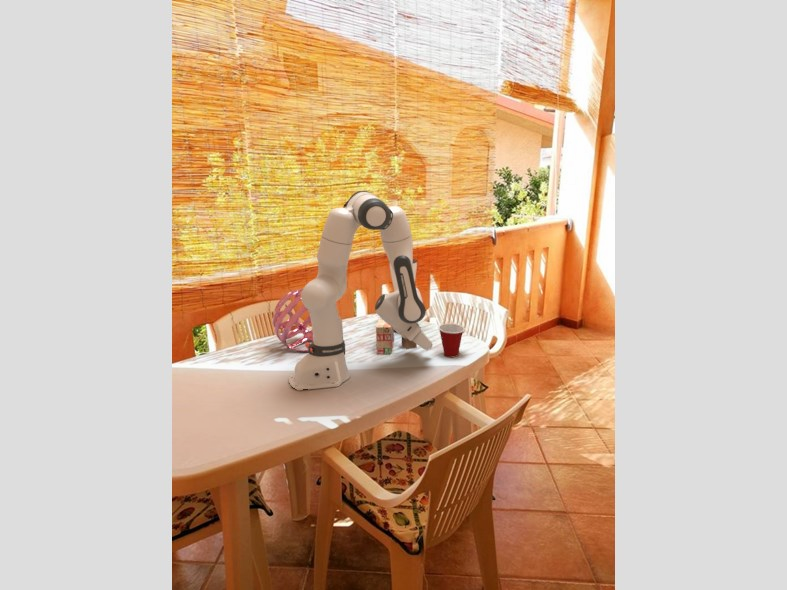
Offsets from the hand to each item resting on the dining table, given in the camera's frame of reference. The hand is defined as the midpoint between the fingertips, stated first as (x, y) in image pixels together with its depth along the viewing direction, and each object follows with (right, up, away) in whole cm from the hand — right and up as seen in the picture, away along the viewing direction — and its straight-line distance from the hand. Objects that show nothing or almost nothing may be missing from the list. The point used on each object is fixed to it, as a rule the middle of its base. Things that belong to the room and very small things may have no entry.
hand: (430, 346), depth 199 cm
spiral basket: (-55, -2, +21) cm, 59 cm away
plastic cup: (+9, -4, +5) cm, 11 cm away
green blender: (-9, +4, +41) cm, 42 cm away
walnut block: (-8, -2, +16) cm, 18 cm away
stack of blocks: (-18, -2, +18) cm, 26 cm away
